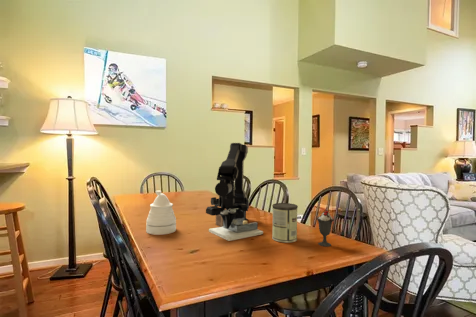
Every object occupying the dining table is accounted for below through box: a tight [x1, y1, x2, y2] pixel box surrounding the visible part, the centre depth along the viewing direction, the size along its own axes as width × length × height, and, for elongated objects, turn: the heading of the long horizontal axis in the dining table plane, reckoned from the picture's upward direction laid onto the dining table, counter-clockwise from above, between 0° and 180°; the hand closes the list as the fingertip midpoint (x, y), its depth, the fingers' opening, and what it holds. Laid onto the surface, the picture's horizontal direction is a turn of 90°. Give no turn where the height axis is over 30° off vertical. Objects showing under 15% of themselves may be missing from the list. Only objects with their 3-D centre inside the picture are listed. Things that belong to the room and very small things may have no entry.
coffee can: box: [271, 202, 299, 244], centre depth 115 cm, size 10×10×14 cm
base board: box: [208, 220, 264, 242], centre depth 123 cm, size 18×16×4 cm
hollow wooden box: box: [215, 215, 223, 227], centre depth 136 cm, size 6×6×5 cm
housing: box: [223, 218, 259, 233], centre depth 125 cm, size 11×11×3 cm
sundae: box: [316, 206, 335, 248], centre depth 108 cm, size 7×7×15 cm
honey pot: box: [145, 190, 177, 236], centre depth 124 cm, size 13×13×18 cm
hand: (227, 228), depth 121 cm, fingers closed
